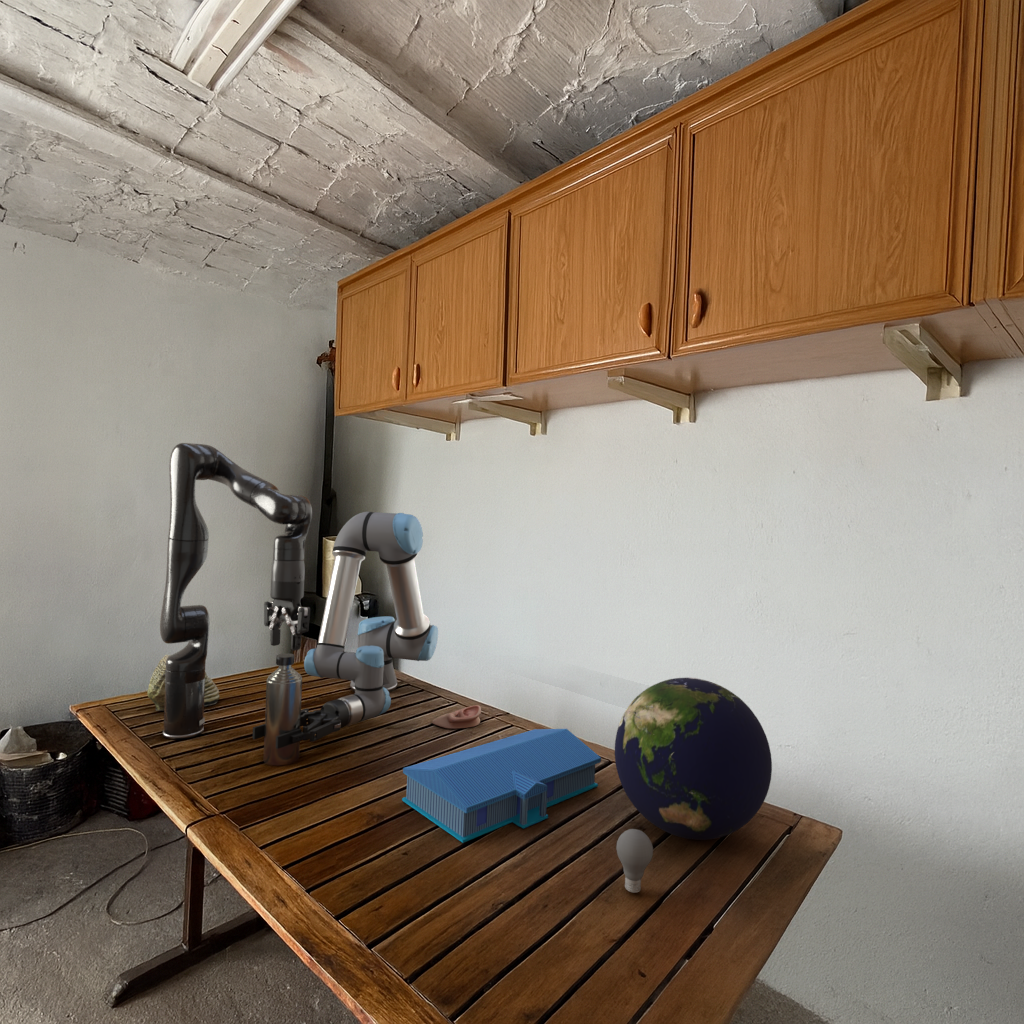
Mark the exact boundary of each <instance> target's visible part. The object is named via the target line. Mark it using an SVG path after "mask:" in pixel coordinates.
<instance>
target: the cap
mask: <svg viewBox="0 0 1024 1024" xmlns="http://www.w3.org/2000/svg"><path fill="white" fill-rule="evenodd" d="M294 664H295V654H293V653H278V654H276V657H275V665H277V666H278V667H279V666H288V665H291V666H293V665H294Z"/></svg>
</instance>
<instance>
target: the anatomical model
mask: <svg viewBox="0 0 1024 1024" xmlns="http://www.w3.org/2000/svg"><path fill="white" fill-rule="evenodd" d="M481 714H482V707H481V706H480V705H478V704H475V705H471V706H467V707H463V708H460V709H457V710H454V711H452V712H448V713H445V714H442V715H439V716H437V717H435V718H434V719H432V720H431V723H432V725H435V726H438V727H441V728H445V729H466V728H467V729H468V728H472V727H476V726H478V725H480V724H481V718H480V716H481Z"/></svg>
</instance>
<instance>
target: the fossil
mask: <svg viewBox="0 0 1024 1024" xmlns="http://www.w3.org/2000/svg"><path fill="white" fill-rule="evenodd" d="M171 655H172V654H165V655H164V656H163V657H162V658H161V659H160V660H159V662H158V663H157V666H156V667H155V669H154V670H153V672H152V675H151V677H150V680H149V684H148V688H147V697H148V699H149V700H150V701H152V703H153V704H154V706H155V711H158V712H159V711H162V712H163V711H164V705H165V674H166V660H167V658H168V657H169V656H171ZM220 698H221V696H220V690H219V688H218V686H217V685H216V683H215V682H214V681H213V679H212V678H211V677H209V675H208V674H207V672H206V671H205V693H204V705H205V706H204V707H207V706H213V705H215V704H217V703H218V701H219V699H220Z"/></svg>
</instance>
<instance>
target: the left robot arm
mask: <svg viewBox="0 0 1024 1024" xmlns="http://www.w3.org/2000/svg"><path fill="white" fill-rule="evenodd" d="M168 463H169V464H168V467H169V495H170V496H169V497H170V501H169V504H170V505H169V525H168V526H169V527H168V535H167V547H166V548H167V550H166V574H165V584H164V585H165V586H164V593H163V598H162V605H161V613H160V618H159V632H160V638H161V640H162V641H163V642H164V644H169V645H172V644H180V643H187V644H186V645H185V646H184V647H183V648H181V649H180V650H179V651H177V652H175V653H172V654H170V655H171V656H169V657H168V658H167V660H166V674H165V705H164V710H163V730H162V737H164V738H166V739H169V740H185V739H190V738H191V739H192V738H194V737H197V736H199V735H202V734H203V732H204V730H205V729H204V726H205V725H204V724H205V722H206V719H205V718H206V717H205V707H206V706H205V705H204V693H205V672H206V664H207V663H206V662H207V661H206V660H207V656H208V646H209V645H208V644H209V636H210V613H209V610H208V609H207V607H206V606H205V605H203V604H192V605H182V600H183V597H184V594H185V591H186V590H187V588H188V586H189V584H190V583H191V581H192V580H193V579H194V578H195V576H196V575H197V574H198V572H199V571H200V570H201V568H202V567H203V565H204V563H205V562H206V560H207V557H208V551H209V536H210V534H209V533H210V532H209V529H208V526H207V523H206V520H205V519H204V517H203V515H202V513H201V511H200V509H199V507H198V505H197V501H196V482H197V481H206V480H209V481H213V482H217V483H219V484H223V485H225V486H227V487H228V488H229V489H230V491H231V492H232V495H234V496H235V497H236V498H237V499H238V500H239V501H241V502H243V503H244V504H247V505H249V506H251V507H253V508H254V509H256V510H258V511H259V512H260V513H261V514H262V515H263V516H264V517H265V518H266V519H267V520H269V521H271V522H273V523H275V524H279V525H285V528H284V531H283V532H282V533H281V534H278V535H276V536H274V539H273V545H272V546H273V547H272V550H273V551H272V563H271V569H270V598H271V599H273V600H267V601H264V602H263V617H264V618H263V625H264V626H265V627H268V629H269V631H270V638H269V642H270V646H273V647H275V646H280V644H281V632H282V631H281V627H282V625H283V623H284V622H285V623H286V625H287V627H289V629H290V632H291V635H290V650H291V651H293V652H295V651H299V650H300V649H301V647H302V635H303V634H304V633H308V632H309V631H310V630H309V629H310V619H311V618H310V617H311V607H310V606H302V604H301V600H302V599H303V598H304V597H305V573H306V572H305V571H306V570H305V568H306V567H305V542H306V540H307V536H308V533H309V529H310V526H311V523H312V520H313V519H312V518H313V508H312V504H311V502H310V500H309V498H307V497H306V496H304V495H300V494H284V493H281V492H280V490H279V488H278V487H277V486H276V485H274V484H273V483H271V482H269V481H268V480H266V479H263V478H262V477H259V476H257V475H255V474H254V473H252V472H249V471H248V470H247V469H245V468H242V467H241V466H240V465H239V464H237V463H235V462H234V461H233V460H231V459H230V457H229V458H228V457H227V456H226V454H224V453H222V452H221V451H220V450H219V449H218V448H216V447H214V446H213V445H211V444H210V445H209V444H204V443H192V442H180V443H177V444H176V445H175V446H174V447H173V448H172V450H171V452H170V457H169V462H168Z"/></svg>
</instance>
